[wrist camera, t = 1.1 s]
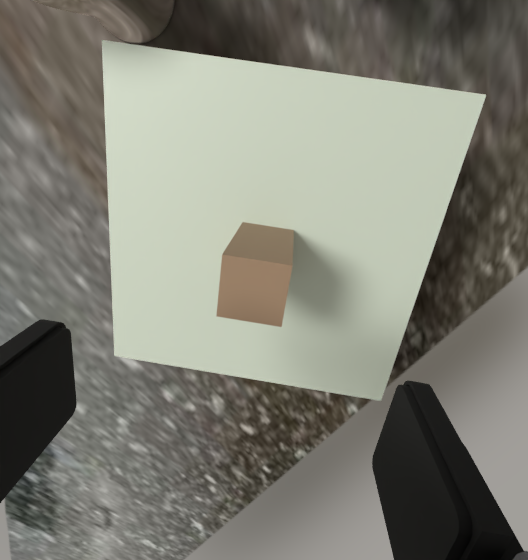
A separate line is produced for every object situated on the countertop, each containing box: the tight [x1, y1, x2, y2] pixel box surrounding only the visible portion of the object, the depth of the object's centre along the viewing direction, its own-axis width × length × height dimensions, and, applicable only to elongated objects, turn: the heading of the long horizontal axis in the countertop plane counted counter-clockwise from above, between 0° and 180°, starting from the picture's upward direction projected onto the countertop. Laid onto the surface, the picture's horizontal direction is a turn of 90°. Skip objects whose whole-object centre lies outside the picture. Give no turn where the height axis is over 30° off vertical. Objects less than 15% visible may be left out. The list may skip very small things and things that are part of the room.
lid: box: [102, 40, 486, 401], centre depth 18 cm, size 19×19×7 cm
